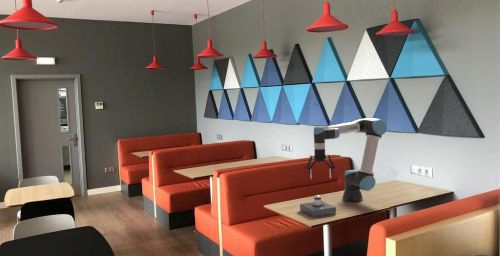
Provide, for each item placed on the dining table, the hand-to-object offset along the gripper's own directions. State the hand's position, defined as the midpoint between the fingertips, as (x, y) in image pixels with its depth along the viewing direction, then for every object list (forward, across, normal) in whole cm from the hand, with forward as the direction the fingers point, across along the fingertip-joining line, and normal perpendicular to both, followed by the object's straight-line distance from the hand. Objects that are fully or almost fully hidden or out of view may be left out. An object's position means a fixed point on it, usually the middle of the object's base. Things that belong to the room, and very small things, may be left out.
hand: (320, 178), depth 290 cm
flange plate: (+23, -3, -7) cm, 24 cm away
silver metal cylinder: (+23, -3, -7) cm, 24 cm away
